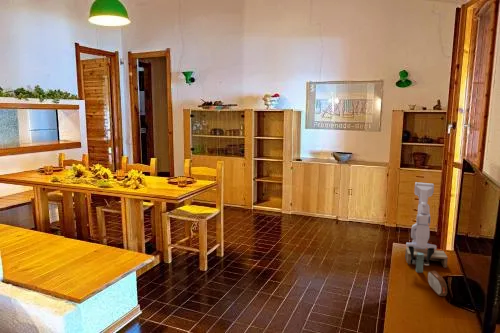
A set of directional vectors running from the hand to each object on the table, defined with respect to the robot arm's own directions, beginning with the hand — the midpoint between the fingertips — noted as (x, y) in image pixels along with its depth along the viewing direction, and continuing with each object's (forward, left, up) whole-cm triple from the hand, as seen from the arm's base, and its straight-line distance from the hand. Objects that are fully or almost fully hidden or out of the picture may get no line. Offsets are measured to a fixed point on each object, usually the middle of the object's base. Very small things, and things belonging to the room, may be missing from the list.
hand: (419, 260), depth 197 cm
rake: (-4, 0, -6) cm, 7 cm away
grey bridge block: (-13, +6, -6) cm, 15 cm away
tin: (+20, +4, -7) cm, 21 cm away
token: (-11, +6, -7) cm, 14 cm away
